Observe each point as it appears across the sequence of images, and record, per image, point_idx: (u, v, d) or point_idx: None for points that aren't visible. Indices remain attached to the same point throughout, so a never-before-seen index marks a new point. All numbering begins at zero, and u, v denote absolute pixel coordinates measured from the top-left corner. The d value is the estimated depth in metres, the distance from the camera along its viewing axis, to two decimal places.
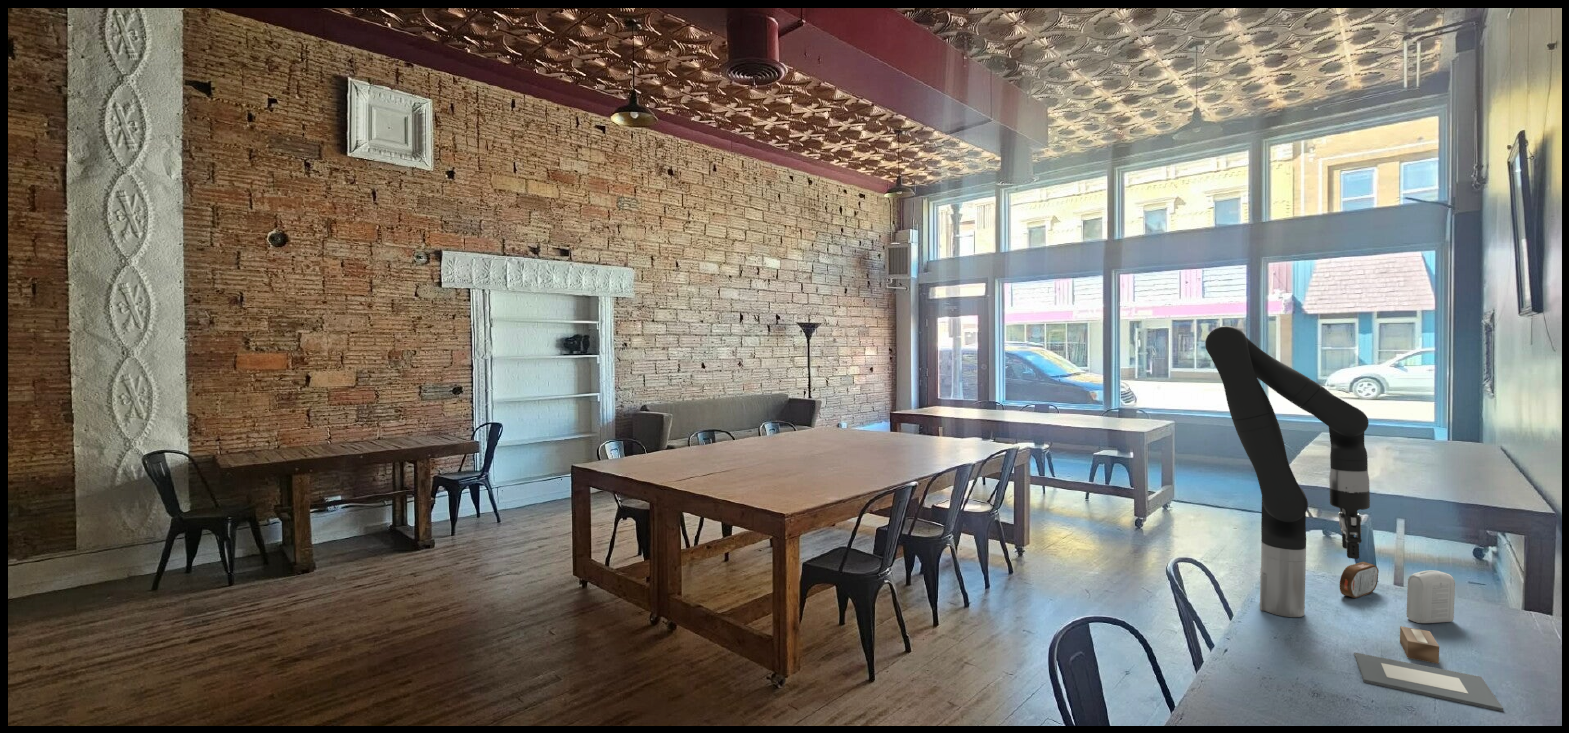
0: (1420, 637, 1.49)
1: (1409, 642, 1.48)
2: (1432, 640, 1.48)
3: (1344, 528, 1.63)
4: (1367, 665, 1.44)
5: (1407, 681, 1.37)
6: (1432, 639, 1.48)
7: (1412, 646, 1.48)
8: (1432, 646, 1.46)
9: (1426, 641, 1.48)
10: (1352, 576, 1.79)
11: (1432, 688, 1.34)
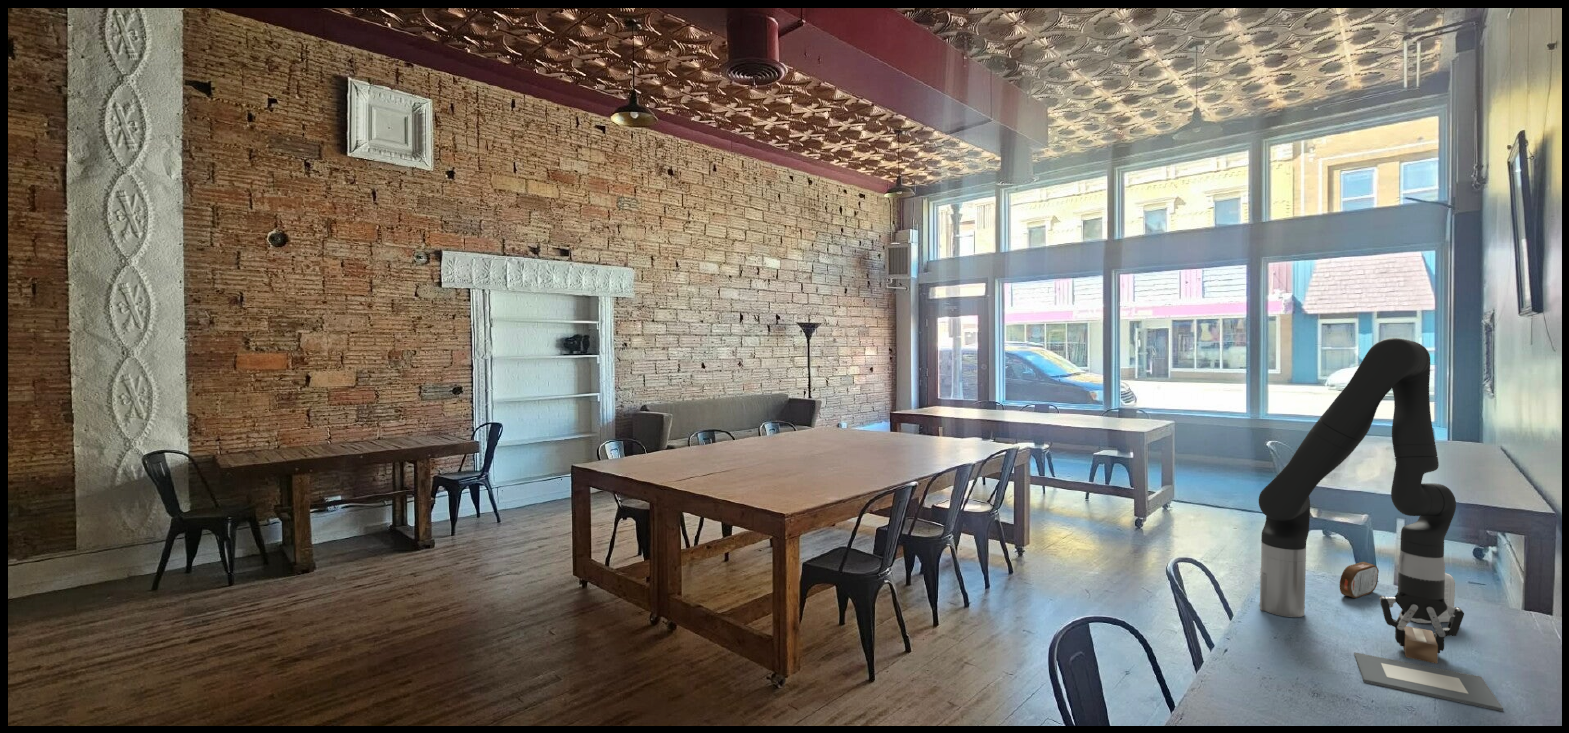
0: (1420, 636, 1.49)
1: (1407, 640, 1.48)
2: (1432, 639, 1.48)
3: None
4: (1367, 665, 1.44)
5: (1407, 681, 1.37)
6: (1432, 638, 1.48)
7: (1410, 645, 1.48)
8: (1430, 645, 1.46)
9: (1425, 640, 1.48)
10: (1352, 576, 1.79)
11: (1432, 688, 1.34)
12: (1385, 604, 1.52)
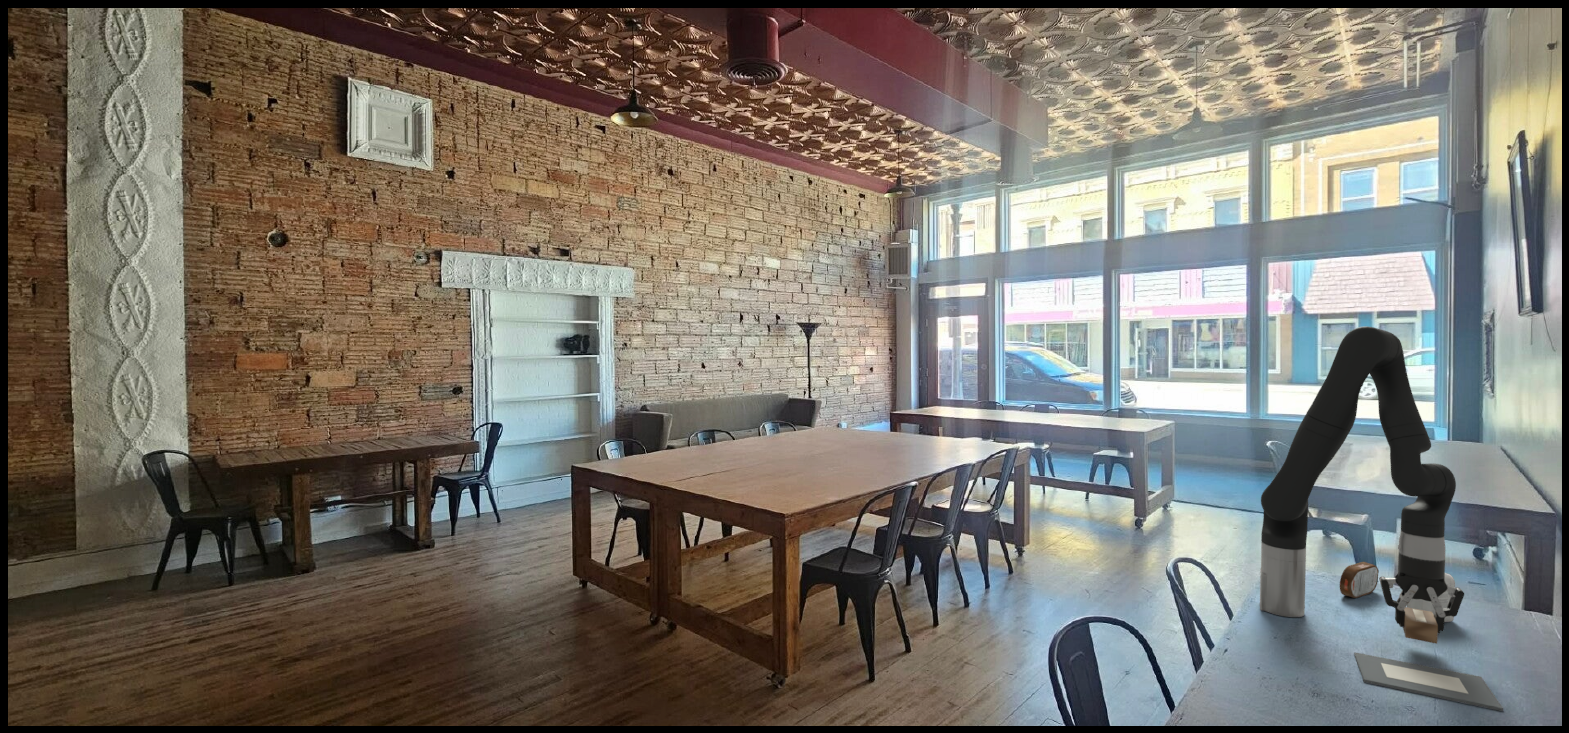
0: (1420, 616, 1.49)
1: (1407, 621, 1.48)
2: (1432, 619, 1.48)
3: None
4: (1367, 665, 1.44)
5: (1407, 681, 1.37)
6: (1432, 619, 1.48)
7: (1410, 625, 1.48)
8: (1430, 625, 1.46)
9: (1425, 620, 1.47)
10: (1352, 576, 1.79)
11: (1432, 688, 1.34)
12: (1385, 585, 1.52)
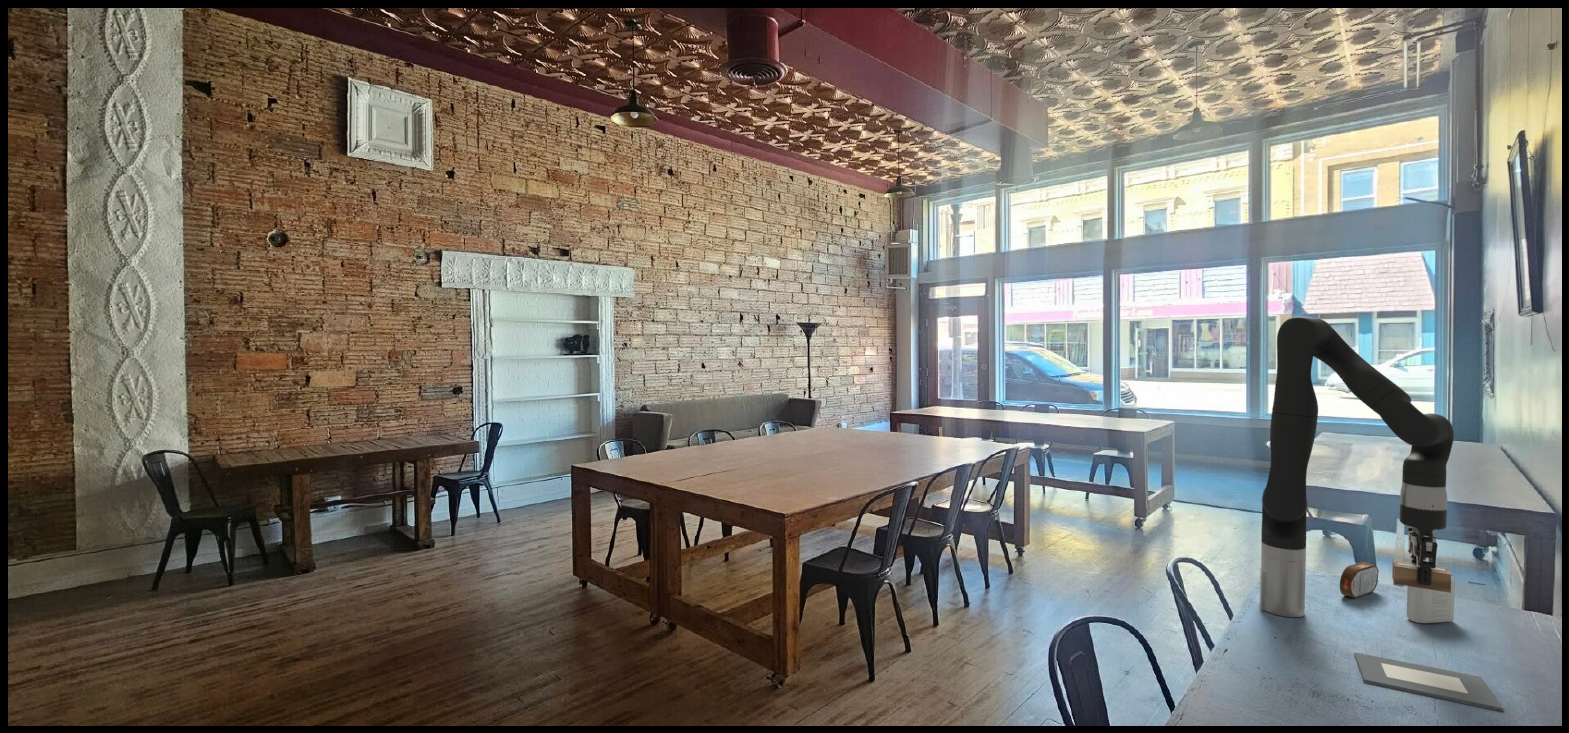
0: None
1: (1450, 575, 1.45)
2: None
3: None
4: (1367, 665, 1.44)
5: (1407, 681, 1.37)
6: None
7: (1450, 578, 1.45)
8: None
9: (1437, 568, 1.48)
10: (1352, 576, 1.79)
11: (1432, 688, 1.34)
12: None
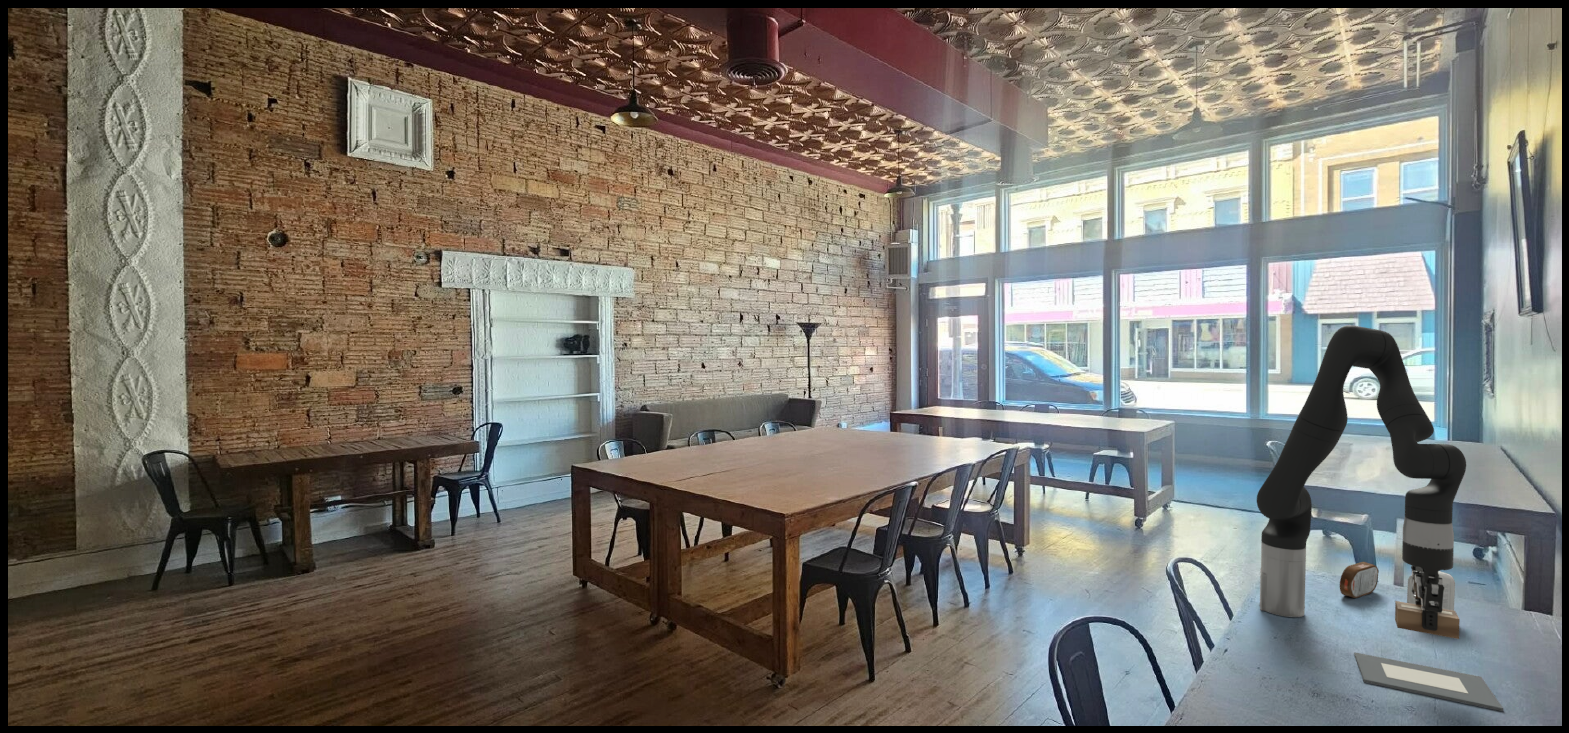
0: None
1: (1458, 620, 1.33)
2: None
3: None
4: (1367, 665, 1.44)
5: (1407, 681, 1.37)
6: None
7: (1458, 623, 1.33)
8: None
9: (1444, 611, 1.36)
10: (1352, 576, 1.79)
11: (1432, 688, 1.34)
12: None
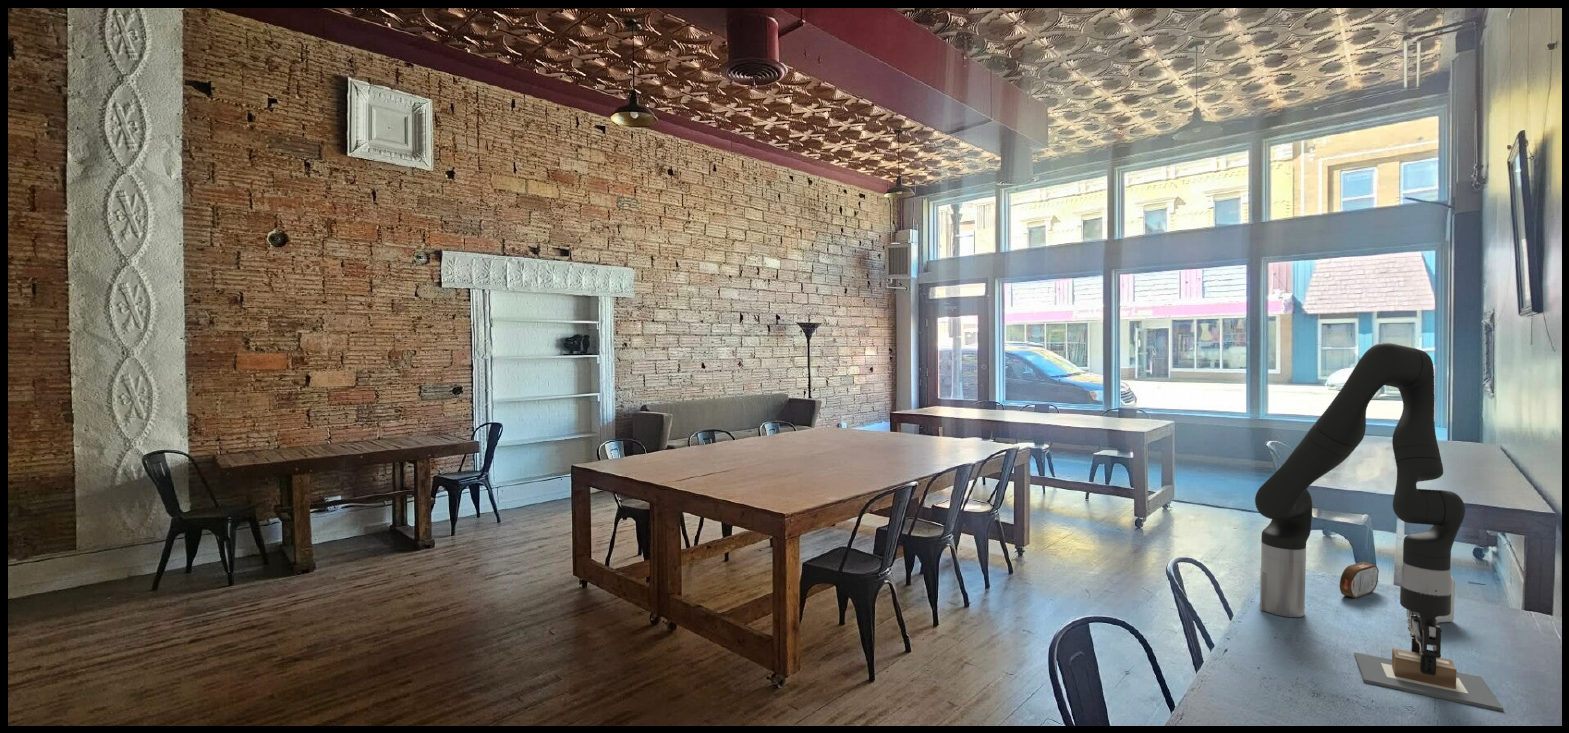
0: None
1: None
2: None
3: None
4: (1367, 665, 1.44)
5: (1407, 681, 1.37)
6: None
7: (1455, 673, 1.34)
8: None
9: (1441, 660, 1.37)
10: (1352, 576, 1.79)
11: (1432, 688, 1.34)
12: None
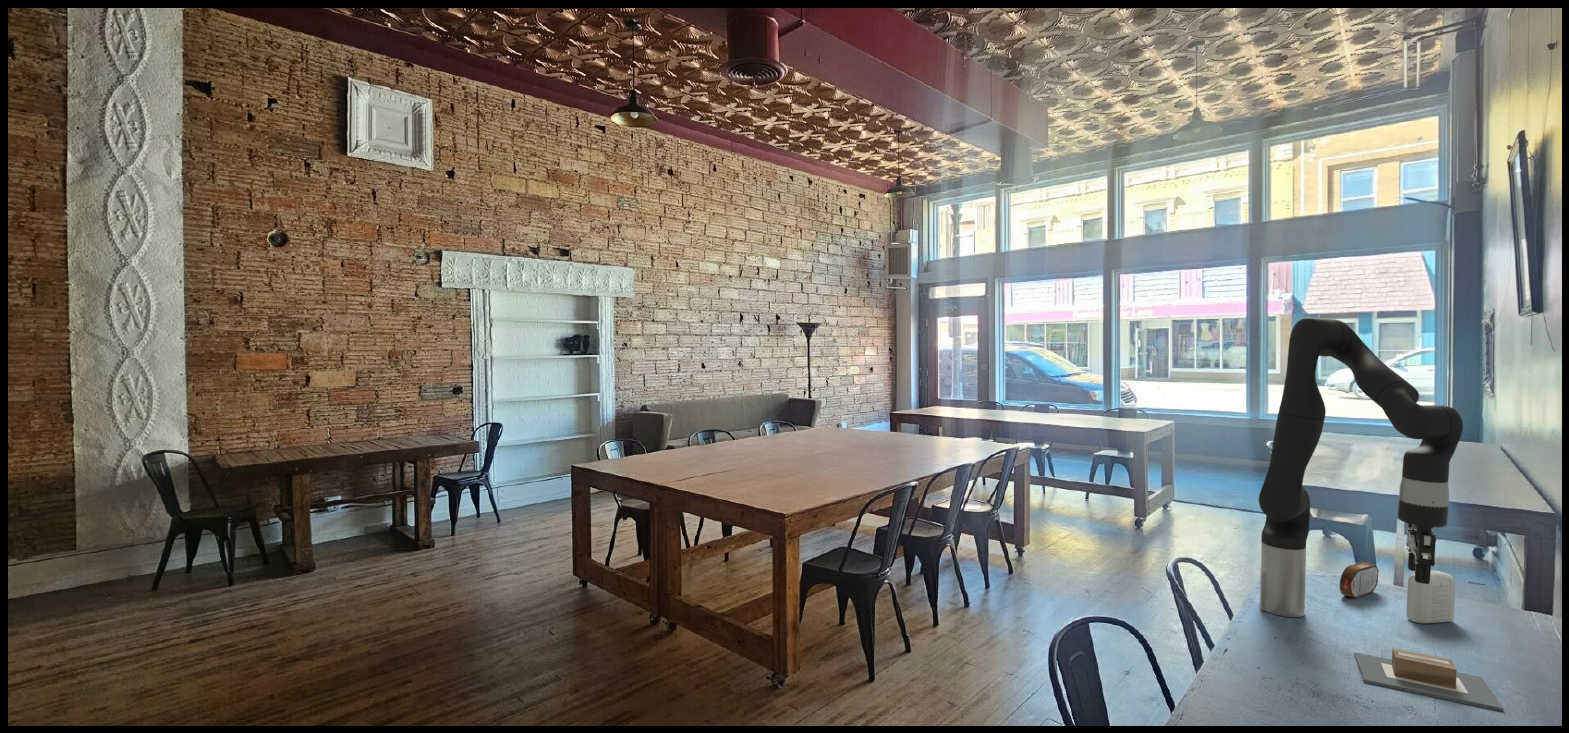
0: (1430, 659, 1.37)
1: None
2: (1430, 656, 1.39)
3: None
4: (1367, 665, 1.44)
5: (1407, 681, 1.37)
6: (1426, 655, 1.39)
7: (1455, 673, 1.34)
8: None
9: (1441, 660, 1.37)
10: (1352, 576, 1.79)
11: (1432, 688, 1.34)
12: None
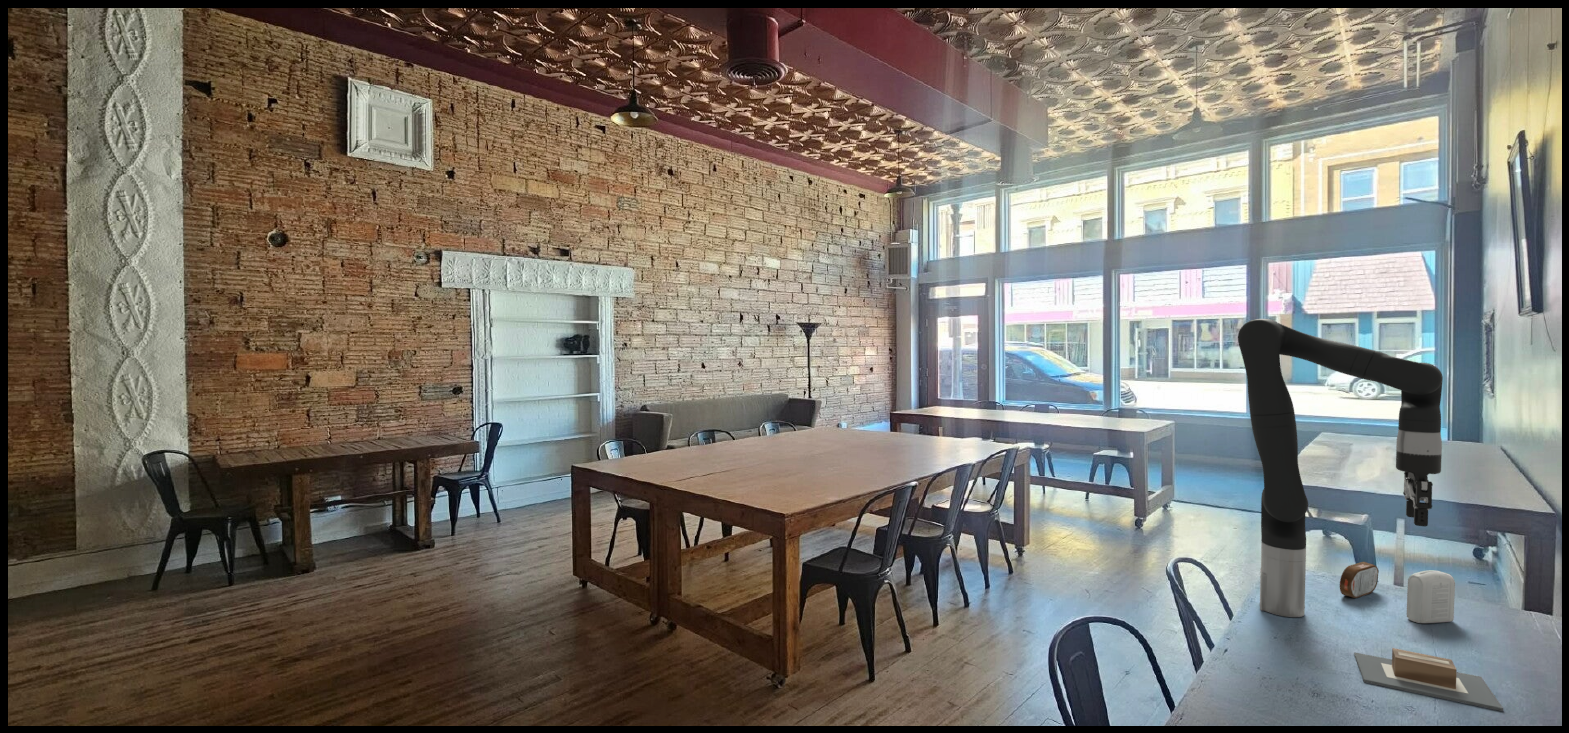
0: (1430, 659, 1.37)
1: None
2: (1430, 656, 1.39)
3: None
4: (1367, 665, 1.44)
5: (1407, 681, 1.37)
6: (1426, 655, 1.39)
7: (1455, 673, 1.34)
8: None
9: (1441, 660, 1.37)
10: (1352, 576, 1.79)
11: (1432, 688, 1.34)
12: None
